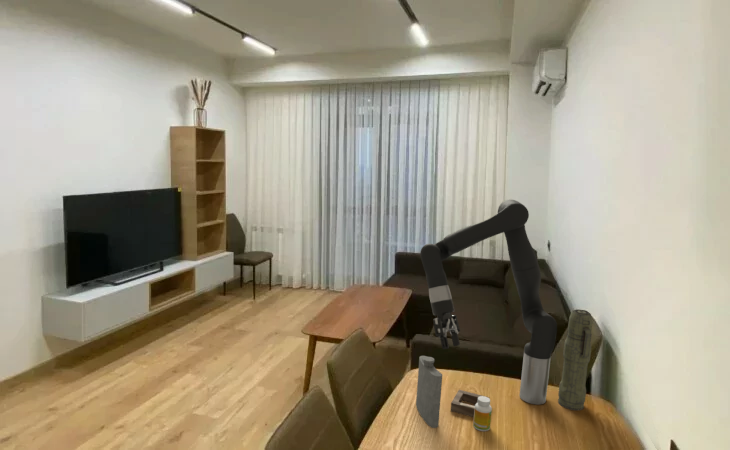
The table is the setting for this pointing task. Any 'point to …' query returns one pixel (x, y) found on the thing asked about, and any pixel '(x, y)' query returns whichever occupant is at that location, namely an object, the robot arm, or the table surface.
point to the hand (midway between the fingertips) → (451, 347)
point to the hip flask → (428, 391)
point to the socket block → (462, 407)
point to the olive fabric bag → (576, 360)
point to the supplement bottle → (482, 414)
